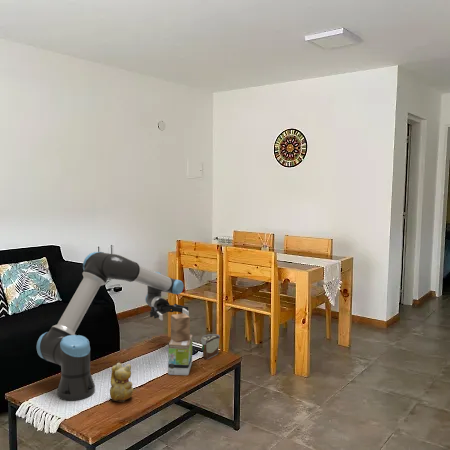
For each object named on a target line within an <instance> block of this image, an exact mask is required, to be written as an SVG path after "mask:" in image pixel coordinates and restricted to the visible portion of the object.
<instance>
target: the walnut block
mask: <svg viewBox="0 0 450 450" xmlns="http://www.w3.org/2000/svg"><path fill="white" fill-rule="evenodd" d="M190 335H191V317H190V316H187V315H186V314H185V313H178V314H177V313H176V314H171V315H170V339H171V338H172V339H173V340H174V341H175V342H182V341H188V340H190Z"/></svg>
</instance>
